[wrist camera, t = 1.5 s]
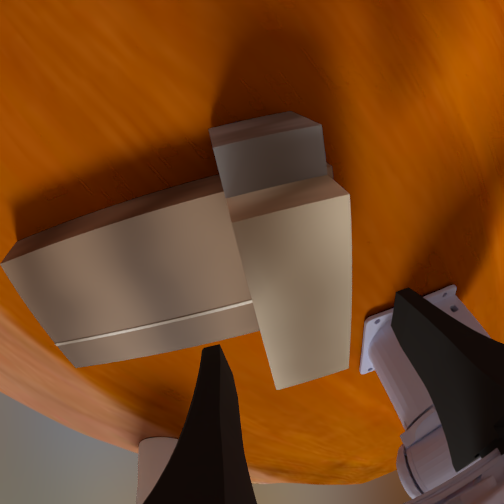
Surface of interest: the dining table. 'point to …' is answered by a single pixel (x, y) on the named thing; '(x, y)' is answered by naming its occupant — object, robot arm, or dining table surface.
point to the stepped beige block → (290, 241)
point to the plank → (138, 276)
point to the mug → (152, 463)
